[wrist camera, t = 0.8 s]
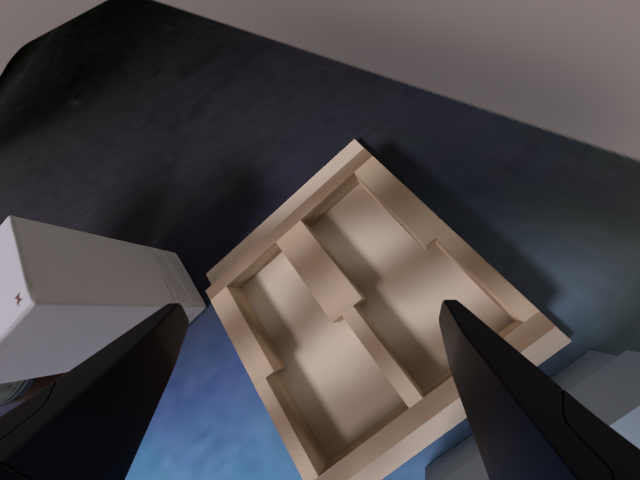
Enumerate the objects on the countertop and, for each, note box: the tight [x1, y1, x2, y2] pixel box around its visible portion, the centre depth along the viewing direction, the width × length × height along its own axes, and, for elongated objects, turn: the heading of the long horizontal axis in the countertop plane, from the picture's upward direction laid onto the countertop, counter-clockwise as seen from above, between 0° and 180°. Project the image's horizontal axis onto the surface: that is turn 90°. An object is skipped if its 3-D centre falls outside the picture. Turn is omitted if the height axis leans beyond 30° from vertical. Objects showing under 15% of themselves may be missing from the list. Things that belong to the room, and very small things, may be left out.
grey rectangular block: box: [425, 350, 640, 480], centre depth 13 cm, size 4×13×6 cm, turn 127°
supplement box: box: [0, 216, 206, 384], centre depth 22 cm, size 7×7×13 cm
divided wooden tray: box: [205, 139, 572, 480], centre depth 20 cm, size 20×18×3 cm
